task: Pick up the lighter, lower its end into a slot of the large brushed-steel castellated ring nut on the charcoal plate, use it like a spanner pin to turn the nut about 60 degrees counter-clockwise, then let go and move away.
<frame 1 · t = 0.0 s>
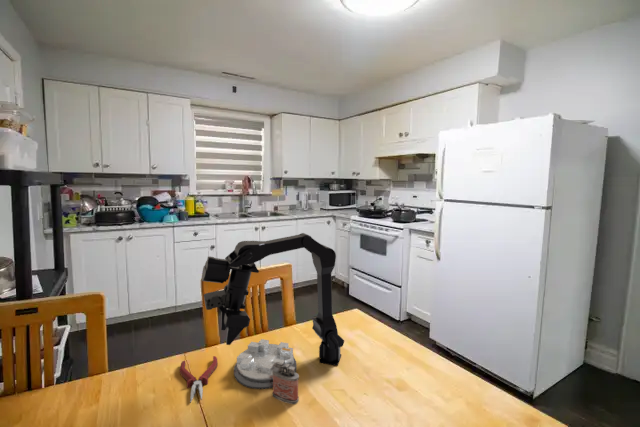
hand: (225, 337, 92), 15 cm above the table, tool pointing down, fingers open, 9 cm apart
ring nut: (265, 358, 102), point 4 cm above the table, hinge at 0.0°
base plate: (265, 368, 103), on the table
pliers: (193, 381, 97), on the table
lighter: (285, 398, 90), on the table
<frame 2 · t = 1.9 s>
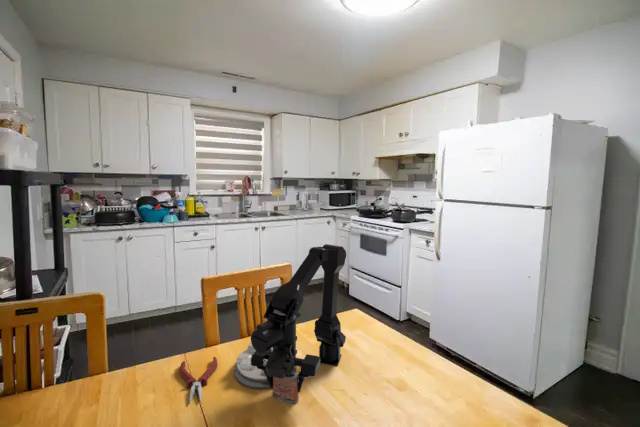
hand: (285, 389, 89), 3 cm above the table, tool pointing down, fingers closed on lighter, 8 cm apart
lighter: (285, 398, 90), on the table, touching gripper
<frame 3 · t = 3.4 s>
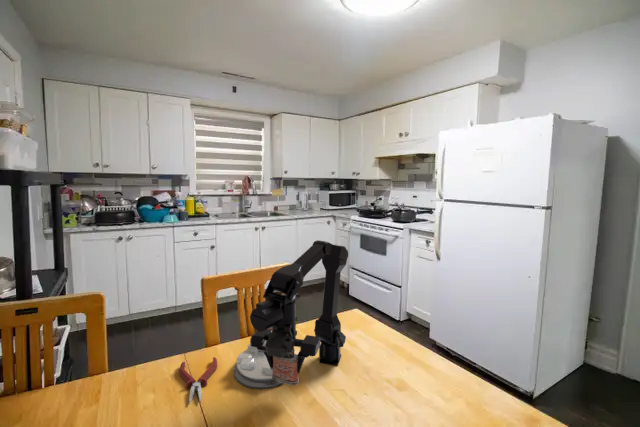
hand: (285, 370, 89), 8 cm above the table, tool pointing down, fingers closed on lighter, 8 cm apart
lighter: (285, 380, 89), point 5 cm above the table, touching gripper
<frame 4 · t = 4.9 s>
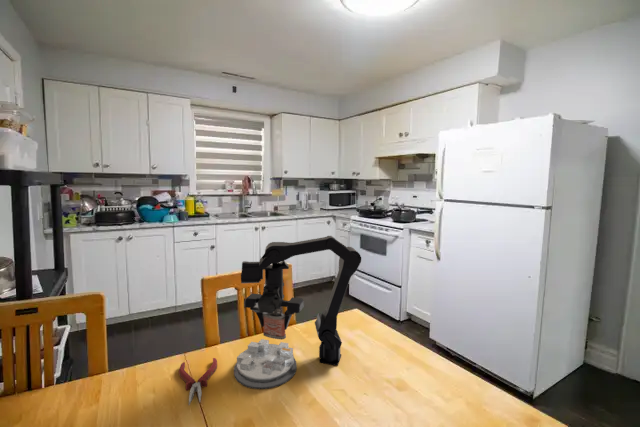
hand: (274, 327, 104), 12 cm above the table, tool pointing down, fingers closed on lighter, 8 cm apart
lighter: (274, 336, 105), point 10 cm above the table, touching gripper
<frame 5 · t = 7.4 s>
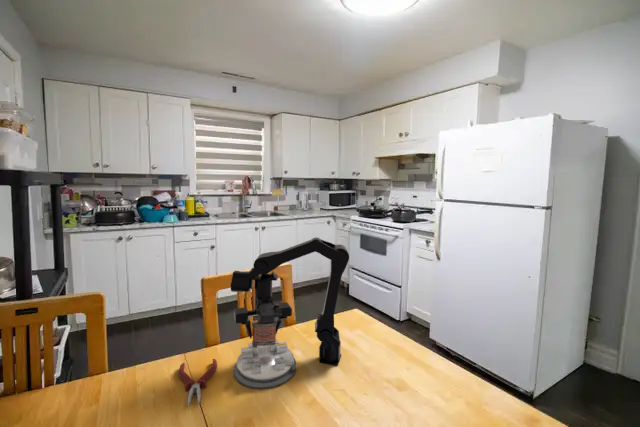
hand: (263, 336, 108), 8 cm above the table, tool pointing down, fingers closed on lighter, 8 cm apart
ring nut: (265, 358, 102), point 4 cm above the table, hinge at 31.1°, touching lighter
lighter: (264, 343, 108), point 5 cm above the table, touching gripper, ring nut
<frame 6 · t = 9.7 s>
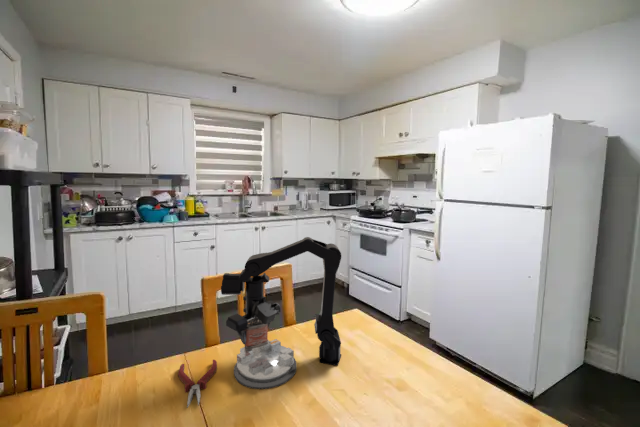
hand: (254, 338, 106), 8 cm above the table, tool pointing down
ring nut: (265, 358, 102), point 4 cm above the table, hinge at 57.2°, touching lighter
lighter: (256, 345, 107), point 5 cm above the table, touching gripper, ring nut
when the fingers open (8 cm above the table, at t = 9.8 s): lighter stays where it is, resting on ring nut.
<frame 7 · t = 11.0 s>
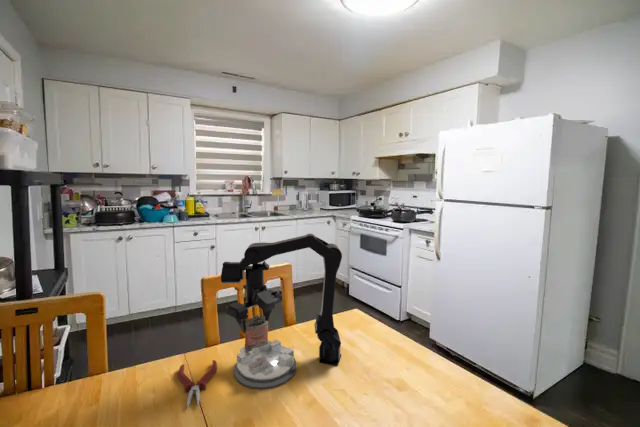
hand: (255, 327, 106), 12 cm above the table, tool pointing down, fingers open, 9 cm apart
lighter: (256, 345, 107), point 5 cm above the table, touching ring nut
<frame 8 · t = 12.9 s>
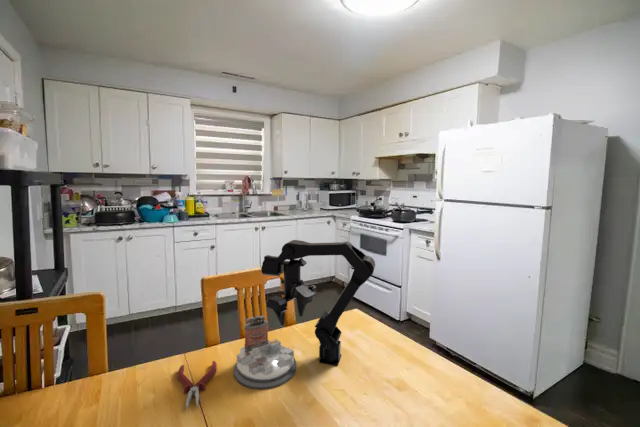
hand: (291, 320, 111), 12 cm above the table, tool pointing down, fingers open, 9 cm apart
at the end: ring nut at +57° (first picture: +0°); the gripper is holding nothing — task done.
